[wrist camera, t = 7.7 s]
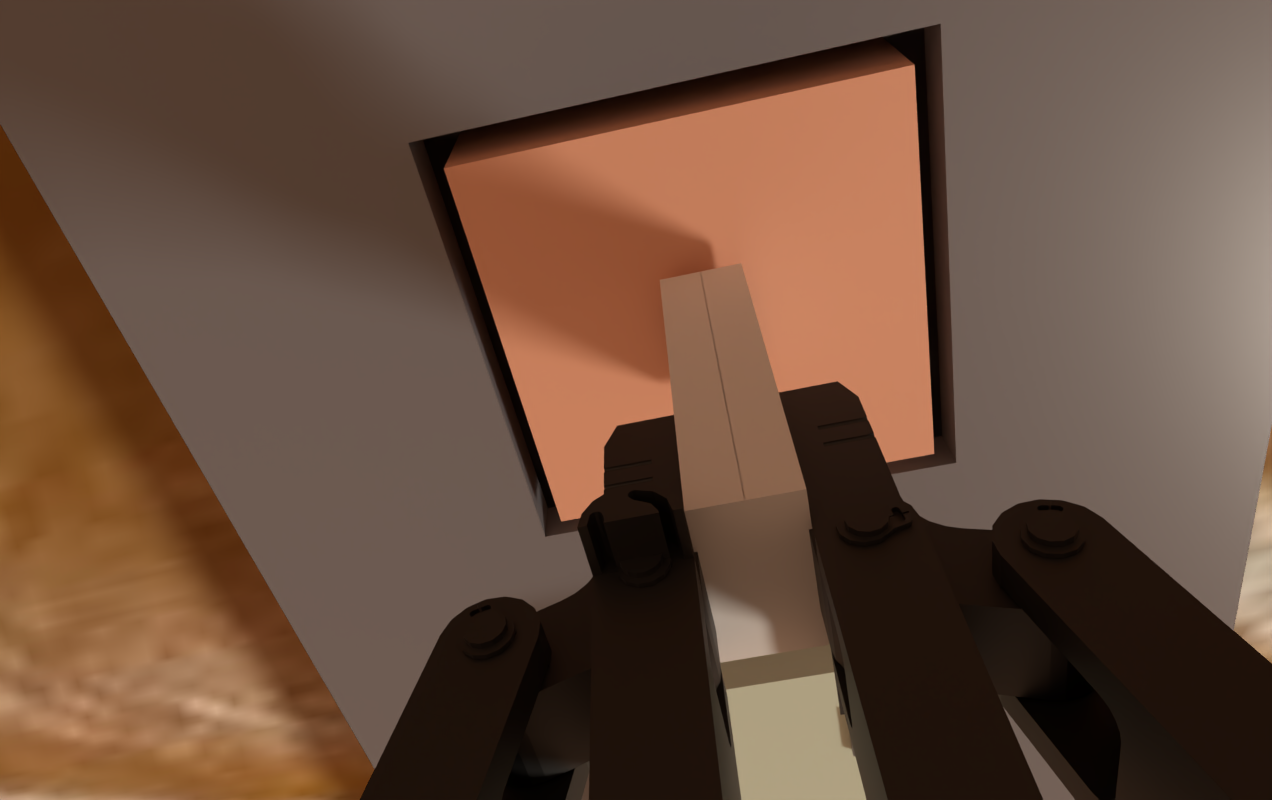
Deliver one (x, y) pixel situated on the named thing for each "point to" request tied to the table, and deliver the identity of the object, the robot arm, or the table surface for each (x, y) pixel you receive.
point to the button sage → (790, 728)
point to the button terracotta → (705, 244)
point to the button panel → (466, 331)
